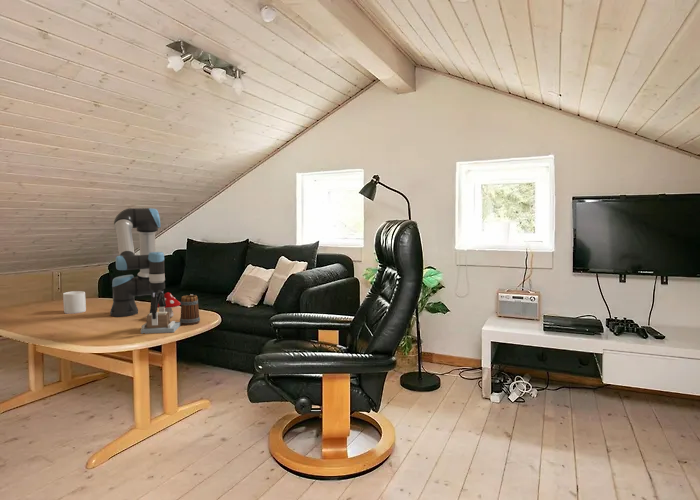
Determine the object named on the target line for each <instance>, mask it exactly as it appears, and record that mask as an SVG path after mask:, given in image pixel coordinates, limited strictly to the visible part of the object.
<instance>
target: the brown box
mask: <svg viewBox="0 0 700 500" xmlns="http://www.w3.org/2000/svg"><path fill="white" fill-rule="evenodd" d="M157 313H158V325H152V314H151V313H150V312H149V313H148V314H147V315H146V316H145V317H146V320H145V321H146V322H147V328H164V327H168V325H169V324H170V322H171V318H170V312H159V311H157Z"/></svg>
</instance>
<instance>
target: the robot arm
mask: <svg viewBox="0 0 700 500" xmlns="http://www.w3.org/2000/svg"><path fill="white" fill-rule="evenodd" d="M113 228H114V230H115V231H116V238H117V239H116V240H117V248H118V255H117V256H115V268H116V270H118V271H133V270H135V271H136V270H139V272H138V273H137V276H134V275H133V274H126V275H119V276H116V277H114V278H113V279H112V285H111V287H112V305H111V308H110V311H109V313H110V316H111V317H115V318H118V317H119V318H121V317H130V316H135V315H137V314H139V308H138V306H137V304H136V301H135V297H141V296H142V297H143V296H150V307H149V313H151V314H152V325H158V313H157V312H165V307H164V306H166V303H165V298H164V294H165V293H164V291H165V289H166V282H165V281H166V277H165V275H166V274H165V272H166V271H165V254H164V252H162V251H156V233H157V232H158V231H159V230H158V229H159V228H162V226H161V217H160V213H159V211H158V209H156V208H153V207H152V208H151V207H147V208H146V207H145V208H144V207H141V208H140V207H139V208H138V207H135V208H131V207H130V208H129V207H128V208H125V209H122V211H120V212H119V213H117V215H116V217H115V218H114V221H113ZM133 229H136V232H137V233H138V235H139V254H135V247H134V241H133V240H134V239H133V233H132V232H133V231H132V230H133ZM158 303H159V306H160V307H159V308H157V307H158Z"/></svg>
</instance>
